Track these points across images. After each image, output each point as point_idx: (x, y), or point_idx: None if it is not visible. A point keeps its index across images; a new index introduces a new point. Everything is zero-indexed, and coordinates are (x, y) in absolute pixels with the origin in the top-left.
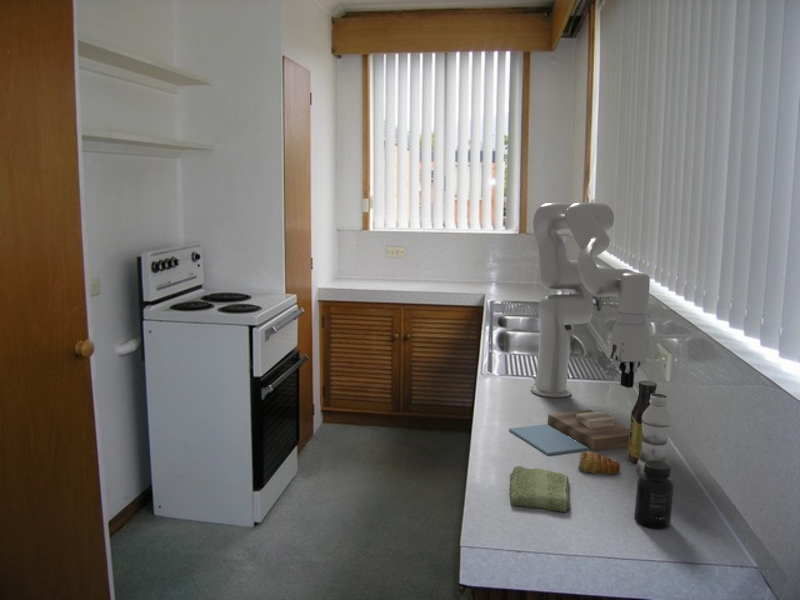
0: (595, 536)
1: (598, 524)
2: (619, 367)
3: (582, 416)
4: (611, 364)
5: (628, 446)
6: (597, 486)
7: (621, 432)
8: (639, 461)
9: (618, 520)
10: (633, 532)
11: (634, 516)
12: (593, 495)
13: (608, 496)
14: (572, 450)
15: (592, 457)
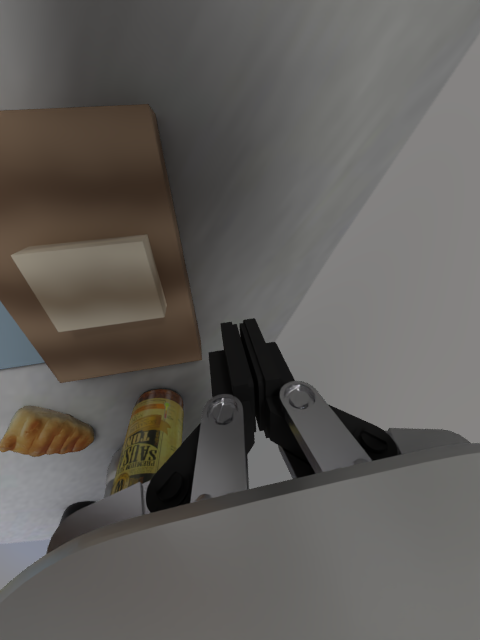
0: (4, 529)
1: (14, 517)
2: (180, 460)
3: (35, 286)
4: (60, 528)
5: (131, 418)
6: (37, 464)
7: (159, 350)
8: (106, 484)
9: (43, 510)
10: (54, 521)
11: (63, 513)
12: (23, 480)
13: (47, 480)
14: (8, 366)
15: (25, 453)
